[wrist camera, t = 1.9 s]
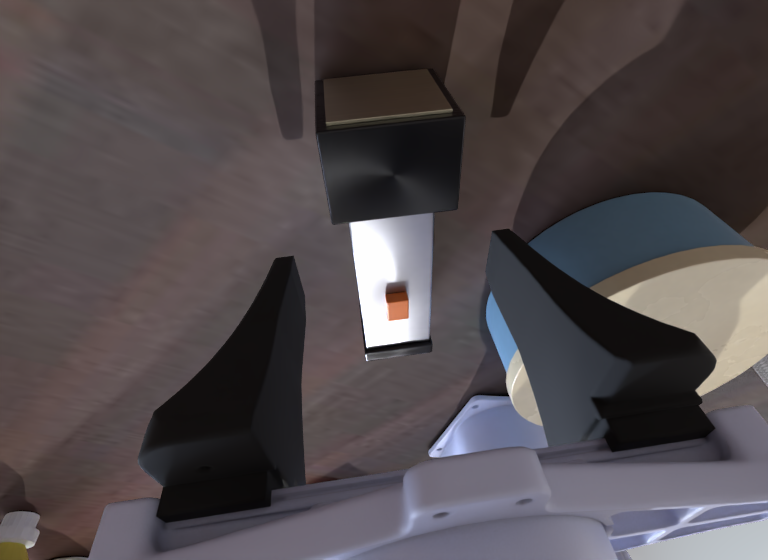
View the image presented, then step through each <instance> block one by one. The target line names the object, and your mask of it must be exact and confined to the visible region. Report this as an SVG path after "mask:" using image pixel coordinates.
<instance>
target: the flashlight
mask: <svg viewBox="0 0 768 560" xmlns="http://www.w3.org/2000/svg"><path fill="white" fill-rule="evenodd" d="M465 120H466V117H465V115H464V113H463V112H462V110H461V109H460V107H459V106H458V104H457V103H456V101H455V100H454V98H453V97H452V96H451V94H450V93H449V91H448V90H447V88H446V87H445V85H444V84H443V82H442V81H441V79H440V78H439V76H438V75H437V73H436V72H435V70H434V69H419V70H409V71H399V72H390V73H380V74H370V75H360V76H351V77H341V78H331V79H323V80H319V81H315V128H316V139H317V144H318V150H319V155H320V161H321V167H322V172H323V178H324V183H325V189H326V194H327V200H328V205H329V211H330V217H331V222H332V224H333V225H336V224H344V223H349V229H350V236H351V243H352V250H353V257H354V264H355V271H356V278H357V285H358V292H359V299H360V313H361V322H362V331H363V340H364V348H365V356H366V360H367V361H372V360H379V359H386V358H394V357H401V356H408V355H415V354H422V353H429V352H432V340H431V336H430V314H431V289H432V263H433V237H434V213H435V212H443V211H451V210H457V209H458V200H459V188H460V177H461V165H462V154H463V143H464V131H465Z"/></svg>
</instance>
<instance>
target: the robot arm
mask: <svg viewBox="0 0 768 560" xmlns="http://www.w3.org/2000/svg"><path fill="white" fill-rule="evenodd" d="M485 272H486V276H487V279H488V282H489V286H490V289H491V292H492V295H493V297H494V299H495V301H496V303H497V306H498V308H499V310H500V312H501V314H502V316H503V318H504V320H505V322H506V324H507V327H508V329H509V331H510V333H511V335H512V337H513V339H514V341H515V343H516V345H517V348H518V350H519V353H520V355H521V358H522V361H523V364H524V367H525V370H526V372H527V375H528V378H529V381H530V385H531V388H532V391H533V394H534V397H535V400H536V404H537V407H538V410H539V414H540V417H541V421H542V424H543V426H540V425H536V424H534V423H532V422H530V421H528V420H526V419H525V418H523V417H522V416H521V415H520V414H519V413H518V412H517V411H516V410H515V408H514V406H513V404H512V401H511V399H510V397H509V396H487V395H476V396H474V397H472V398H471V399H470V400H469V402H468V403H467V404H466V405H465V407H464V408H463V409H462V410H461V412H460V413H459V414H458V415H457V416H456V418H455V419H454V420H453V421H452V423H451V424H450V425H449V426H448V428H447V429H446V430H445V431H444V433H443V434H442V435H441V436H440V437H439V439H438V440H437V441H436V442H435V444H434V445H433V446H432V447H431V449H430V450H429V456H430V457H439V458H435V459H431V460H427V461H423V462H420V463H418V464H416V465H414V466H413V467H411V468H409V469H404V470H398V471H391V472H385V473H379V474H372V475H366V476H359V477H353V478H347V479H340V480H334V481H327V482H321V483H315V484H308V485H306V480H305V464H304V446H303V424H302V393H301V379H302V364H303V351H304V339H305V326H306V311H305V295H304V291H303V288H302V284H301V281H300V277H299V274H298V270H297V267H296V263H295V259H294V256H289V257H281V258H276V259H275V260H274V262H273V264H272V266H271V269H270V271H269V273H268V275H267V277H266V279H265V281H264V283H263V285H262V287H261V289H260V291H259V292H258V294H257V296H256V298H255V300H254V301H253V303H252V305H251V306H250V308H249V310H248V311H247V313H246V314H245V316H244V318H243V319H242V321H241V322H240V324H239V325H238V327H237V328H236V329H235V331H234V332H233V333H232V335H231V336H230V337H229V339H228V340H227V341H226V343H225V344H224V345H223V346H222V347H221V349H220V350H219V351H218V352H217V353H216V354H215V356H214V357H213V358H212V359H211V360H210V361H209V362H208V363H207V365H206V366H205V367H204V368H203V369H202V370H201V371H200V372H199V373H198V374H197V375H196V376H195V377H194V378H193V379H191V380H190V381H189V382H188V383H187V384H186V385H185V386H184V387H183V388H182V389H181V390H180V391H178V392H177V393H176V394H175V395H174V396H172V397H171V398H170V399H169V400H168V401H166V402H165V403H164V404H163V405H162V406H160V407H159V408H158V409H157V410H155V411H154V413H153V416H152V418H151V420H150V422H149V425H148V427H147V430H146V433H145V436H144V440H143V443H142V446H141V450H140V453H139V456H138V464H139V465H140V467H141V468H142V469H143V470H144V471H145V472H146V473H147V474H148V475H150V476H151V477H152V478H153V479H155V480H156V481H157V482H158V483H160V484H161V485H162V486H163V490H162V494H161V499H158V498H141V499H134V500H128V501H122V502H115V503H109V504H108V505H106V506H105V509H104V512H103V515H102V518H101V521H100V524H99V527H98V530H97V533H96V536H95V539H94V542H93V545H92V548H91V551H90V554H89V557H88V560H632V559H631V557H630V555H629V554H628V552H627V551H626V550H628V549H632V548H636V547H641V546H645V545H649V544H654V543H658V542H662V541H667V540H671V539H675V538H679V537H684V536H688V535H693V534H697V533H701V532H706V531H711V530H716V529H721V528H726V527H731V526H735V525H741V524H747V523H752V522H758V521H764V520H767V519H768V423H767V422H766V421H765V420H764V419H763V417H762V416H761V415H760V414H759V413H758V412H757V410H756V409H755V408H754V407H753V406H752V405H742V406H735V407H729V408H722V409H717V410H713V411H711V412H708V413H706V414H705V413H704V412H703V411H702V409H701V408H700V407H699V405H700V404H701V403H702V399H701V397H700V396H699V395H698V393H697V392H696V389H697V388H698V387H699V386H700V385H701V384H702V383H703V382H704V381H705V380H706V379H707V378H708V377H709V376H710V375H711V373H712V372H713V370H714V369H715V366H716V362H717V360H716V358H715V356H714V355H713V353H712V352H711V351H710V350H709V349H708V348H707V346H706V345H705V344H704V343H703V342H702V341H701V340H700V338H699V337H698V336H697V335H696V334H695V333H692V332H689V331H687V330H684V329H681V328H678V327H675V326H672V325H669V324H666V323H663V322H660V321H657V320H655V319H652V318H650V317H648V316H645V315H643V314H640V313H638V312H635V311H633V310H631V309H629V308H626V307H624V306H622V305H620V304H618V303H616V302H614V301H612V300H610V299H608V298H606V297H604V296H602V295H600V294H599V293H597V292H595V291H593V290H592V289H590V288H588V287H586V286H585V285H583V284H581V283H580V282H578V281H577V280H575V279H574V278H572V277H571V276H569V275H568V274H566V273H565V272H563V271H562V270H560V269H559V268H558V267H556V266H555V265H553V264H552V263H551V262H549V261H548V260H547V259H546V258H544V257H543V256H542V255H540V254H539V253H538V252H537V251H535V250H534V249H533V248H532V247H530V246H529V245H528V244H527V243H526V242H524V241H523V240H522V239H521V238H520V237H518V236H517V235H516V234H515V233H513V232H512V231H511V230H510V229H503V230H495V231H492V236H491V242H490V248H489V253H488V259H487V265H486V271H485Z"/></svg>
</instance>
